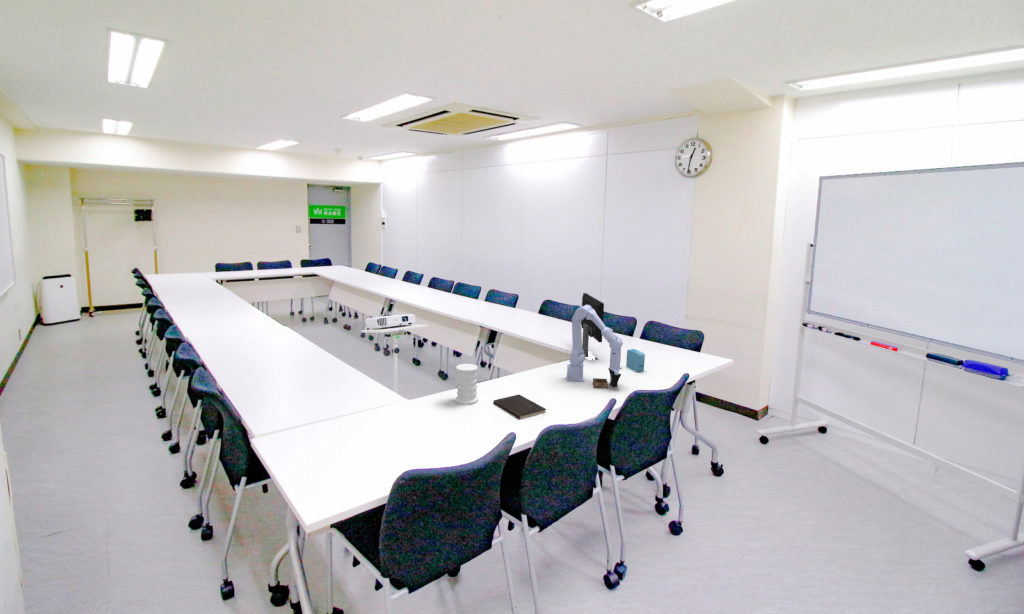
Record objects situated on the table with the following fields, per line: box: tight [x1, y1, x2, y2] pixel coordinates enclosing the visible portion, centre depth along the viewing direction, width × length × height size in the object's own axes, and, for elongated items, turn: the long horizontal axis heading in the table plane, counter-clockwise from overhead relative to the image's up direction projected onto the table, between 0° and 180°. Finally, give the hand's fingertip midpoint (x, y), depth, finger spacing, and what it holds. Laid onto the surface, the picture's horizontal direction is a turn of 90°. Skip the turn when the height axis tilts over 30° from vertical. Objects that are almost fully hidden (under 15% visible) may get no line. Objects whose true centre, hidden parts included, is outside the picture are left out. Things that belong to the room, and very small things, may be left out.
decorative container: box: [455, 363, 479, 406], centre depth 249 cm, size 12×12×18 cm
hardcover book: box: [492, 394, 547, 420], centre depth 243 cm, size 16×23×2 cm
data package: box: [625, 348, 646, 373], centre depth 305 cm, size 12×4×12 cm, turn 24°
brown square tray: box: [592, 377, 609, 389], centre depth 276 cm, size 8×8×3 cm
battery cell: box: [609, 376, 618, 388], centre depth 275 cm, size 4×4×7 cm
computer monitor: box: [581, 292, 605, 361], centre depth 331 cm, size 41×8×40 cm, turn 8°
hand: (613, 383), depth 275 cm, fingers open, 7 cm apart
